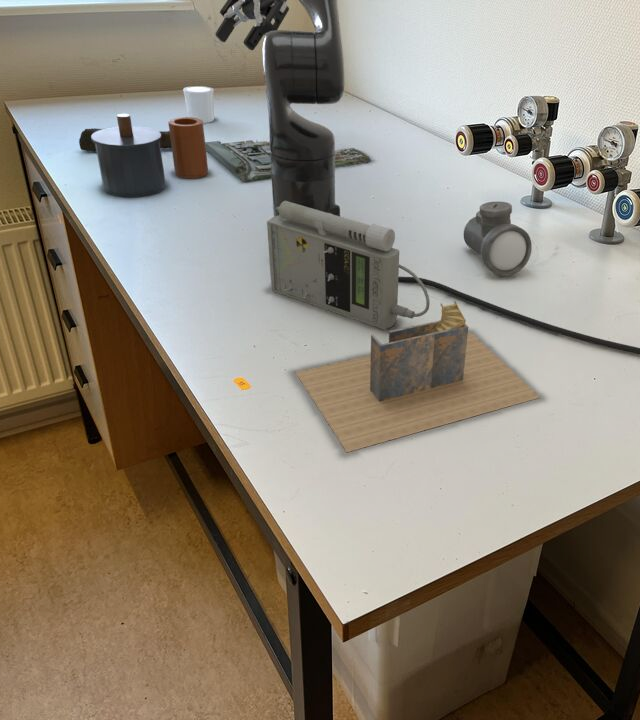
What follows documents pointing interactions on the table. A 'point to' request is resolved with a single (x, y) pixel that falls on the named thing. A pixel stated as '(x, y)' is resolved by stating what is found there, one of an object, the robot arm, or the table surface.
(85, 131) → the hand tool
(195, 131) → the jar
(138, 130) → the tin lid
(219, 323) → the table surface
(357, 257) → the geiger counter
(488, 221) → the pipe fitting
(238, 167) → the model
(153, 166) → the tin
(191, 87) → the white cylinder
